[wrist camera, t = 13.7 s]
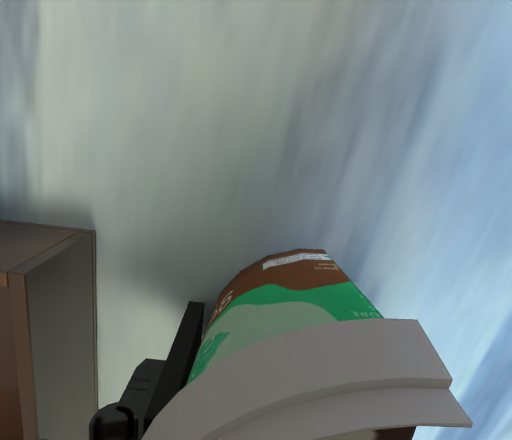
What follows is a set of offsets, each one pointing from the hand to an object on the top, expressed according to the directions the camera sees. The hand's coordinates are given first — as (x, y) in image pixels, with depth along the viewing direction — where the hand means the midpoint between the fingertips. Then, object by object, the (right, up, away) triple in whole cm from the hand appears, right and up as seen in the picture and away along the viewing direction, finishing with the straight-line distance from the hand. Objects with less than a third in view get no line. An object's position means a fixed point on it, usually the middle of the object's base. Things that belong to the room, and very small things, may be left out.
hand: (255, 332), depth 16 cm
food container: (0, 0, 0) cm, 1 cm away
